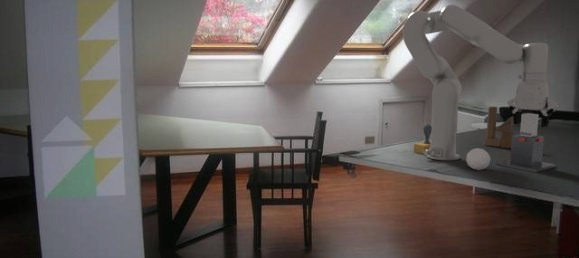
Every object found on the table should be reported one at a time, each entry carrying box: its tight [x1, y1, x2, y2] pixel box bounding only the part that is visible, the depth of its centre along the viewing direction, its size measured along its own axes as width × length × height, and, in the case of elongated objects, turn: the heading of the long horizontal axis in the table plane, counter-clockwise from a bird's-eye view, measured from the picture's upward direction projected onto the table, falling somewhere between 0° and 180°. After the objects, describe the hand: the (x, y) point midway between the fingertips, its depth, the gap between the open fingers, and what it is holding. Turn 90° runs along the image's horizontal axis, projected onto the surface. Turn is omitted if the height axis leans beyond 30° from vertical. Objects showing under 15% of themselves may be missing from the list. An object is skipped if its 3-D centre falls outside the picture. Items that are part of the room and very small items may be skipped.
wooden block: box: [483, 105, 515, 149], centre depth 189 cm, size 4×11×18 cm, turn 43°
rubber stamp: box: [413, 124, 432, 155], centre depth 179 cm, size 10×6×12 cm, turn 123°
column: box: [519, 112, 540, 138], centre depth 153 cm, size 5×4×18 cm
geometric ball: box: [465, 147, 491, 171], centre depth 149 cm, size 8×8×8 cm
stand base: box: [496, 134, 556, 173], centre depth 154 cm, size 14×14×11 cm
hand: (530, 125), depth 152 cm, fingers open, 9 cm apart
